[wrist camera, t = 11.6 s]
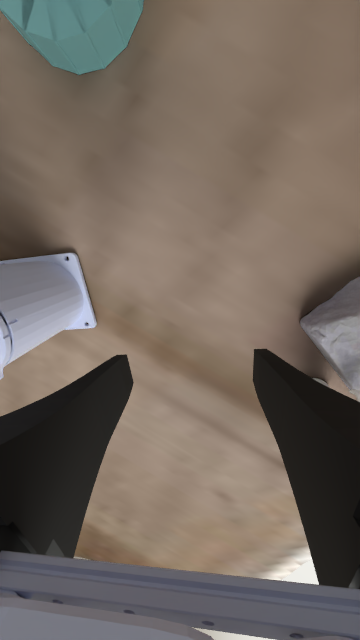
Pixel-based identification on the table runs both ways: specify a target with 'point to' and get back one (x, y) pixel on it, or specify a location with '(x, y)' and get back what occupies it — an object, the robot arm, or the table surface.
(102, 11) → the teal creased ring
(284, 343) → the table surface
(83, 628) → the robot arm
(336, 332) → the stone block
